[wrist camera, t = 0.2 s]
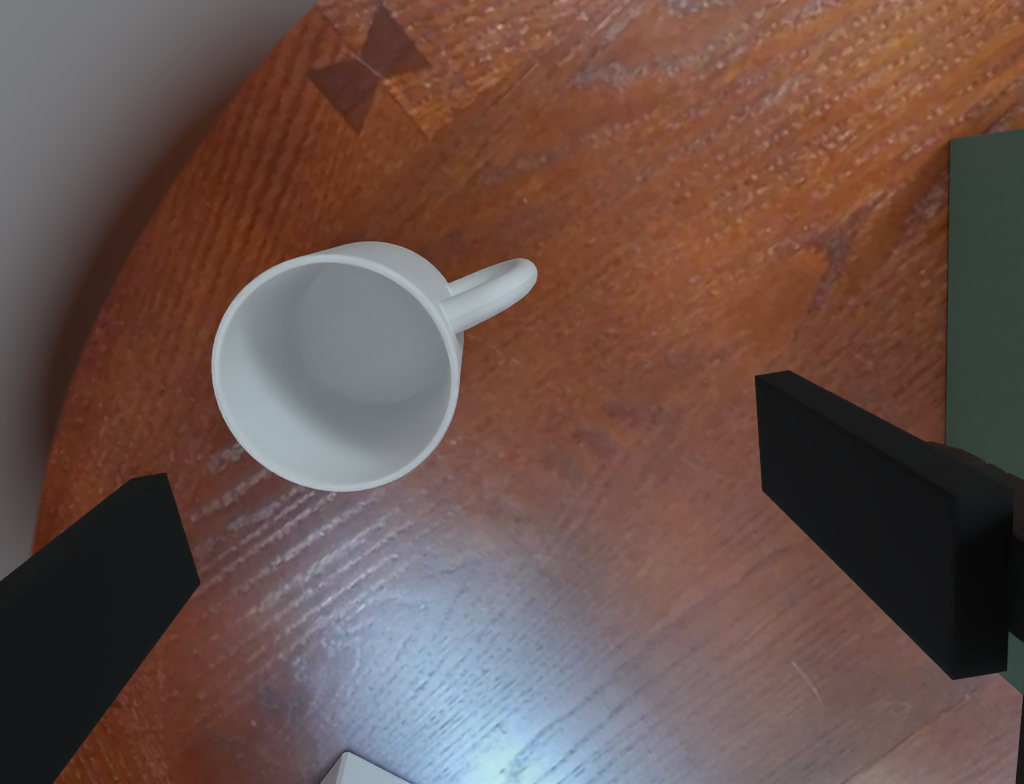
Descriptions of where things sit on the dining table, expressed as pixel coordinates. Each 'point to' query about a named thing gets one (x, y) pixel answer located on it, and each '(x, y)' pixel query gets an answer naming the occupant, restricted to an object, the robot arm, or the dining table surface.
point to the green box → (987, 311)
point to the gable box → (358, 772)
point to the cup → (351, 360)
